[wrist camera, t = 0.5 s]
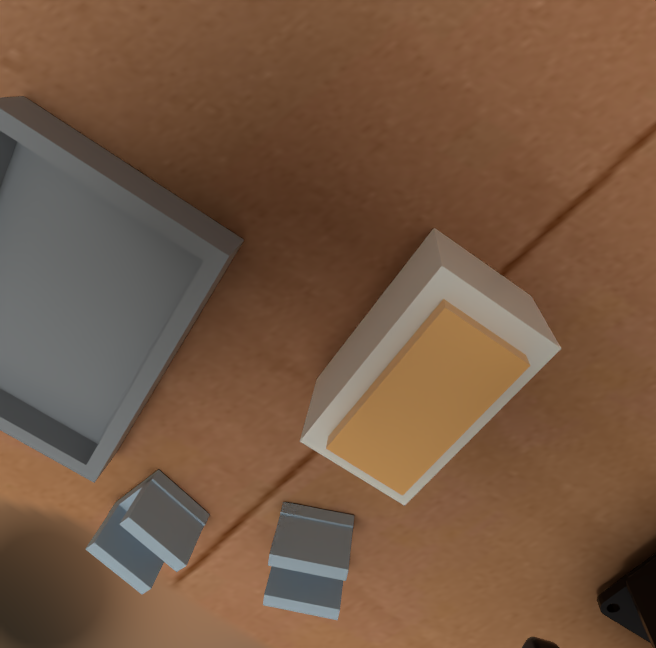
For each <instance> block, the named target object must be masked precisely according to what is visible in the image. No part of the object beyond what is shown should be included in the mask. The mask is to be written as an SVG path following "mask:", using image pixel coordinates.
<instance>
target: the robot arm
mask: <svg viewBox="0 0 656 648" xmlns="http://www.w3.org/2000/svg"><path fill="white" fill-rule="evenodd" d="M597 602H598V605H599V607H600V610H601V612H602V613H603V614H604V615H606V616H607V617H609V618H610V619H612V620H614V621H615V622H617V623H619V624H620V625H622V626H624V627H625V628H627V629H629V630H630V631H632V632H633V633H635V634H637V635H638V636H640V637H642V638H643V639H645V640H647V641H648V642H650V643H651V644H652V647H653V648H656V554H654V555H653V556H651V557H650V558H649V559H647V560H646V561H645V562H643V563H642V564H641V565H639V566H638V567H637V568H635V569H634V570H632V571H631V572H630V573H628V574H627V575H626V576H624V577H623V578H622V579H620V580H619V581H617V582H616V583H615V584H613V585H612V586H611V587H609V588H608V589H607V590H605V591H604V592H603V593H601V594H600V595H599V596H598V598H597ZM522 648H559V647H558V646H557V645H556V644H555V643H553V642H550V641H547V640H544V639H540V638H537V637H530V638H528V639H527V640H526V642H525V643H524V645H523V647H522Z"/></svg>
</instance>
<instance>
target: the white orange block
mask: <svg viewBox="0 0 656 648" xmlns="http://www.w3.org/2000/svg"><path fill="white" fill-rule="evenodd" d="M560 349H561V347H560V345H559V343H558V342H557V340H556V338H555V336H554V335H553V333H552V331H551V329H550V328H549V326H548V324H547V323H546V321H545V319H544V317H543V316H542V314H541V312H540V310H539V309H538V307H537V305H536V303H535V302H534V300H533V298H532V296H531V295H529V294H528V293H526V292H525V291H524V290H522V289H521V288H519V287H518V286H516V285H515V284H514V283H512V282H511V281H509V280H508V279H506V278H505V277H504V276H502V275H501V274H499V273H498V272H497V271H495V270H494V269H492V268H491V267H489V266H488V265H487V264H485V263H484V262H482V261H481V260H479V259H478V258H477V257H475V256H474V255H472V254H471V253H470V252H468V251H467V250H465V249H464V248H462V247H461V246H460V245H458V244H457V243H455V242H454V241H452V240H451V239H450V238H448V237H447V236H445V235H444V234H442V233H441V232H440V231H438V230H437V229H435V228H433V230H432V231H431V232H430V233H429V235H428V236H427V237H426V239H425V240H424V241H423V242H422V244H421V245H420V246H419V248H418V249H417V250H416V251H415V253H414V254H413V255H412V257H411V258H410V259H409V260H408V262H407V263H406V264H405V266H404V267H403V268H402V270H401V271H400V272H399V273H398V275H397V276H396V277H395V279H394V280H393V281H392V282H391V284H390V285H389V286H388V288H387V289H386V290H385V291H384V293H383V294H382V295H381V297H380V298H379V299H378V300H377V302H376V303H375V304H374V306H373V307H372V308H371V310H370V311H369V312H368V313H367V315H366V316H365V317H364V319H363V320H362V321H361V322H360V324H359V325H358V326H357V328H356V329H355V330H354V331H353V333H352V334H351V335H350V337H349V338H348V339H347V340H346V342H345V343H344V344H343V346H342V347H341V348H340V350H339V351H338V352H337V353H336V355H335V356H334V357H333V359H332V360H331V361H330V362H329V364H328V365H327V366H326V368H325V369H324V370H323V371H322V373H321V374H320V375H319V377H318V378H317V380H316V383H315V387H314V391H313V394H312V398H311V402H310V405H309V409H308V413H307V416H306V420H305V424H304V427H303V431H302V435H301V438H300V442H302V443H303V444H305V445H306V446H308V447H310V448H311V449H313V450H315V451H316V452H318V453H320V454H321V455H323V456H324V457H326V458H328V459H329V460H331V461H333V462H334V463H336V464H337V465H339V466H341V467H342V468H344V469H346V470H347V471H349V472H351V473H352V474H354V475H355V476H357V477H359V478H360V479H362V480H364V481H365V482H367V483H369V484H370V485H372V486H373V487H375V488H377V489H378V490H380V491H382V492H383V493H385V494H386V495H388V496H390V497H391V498H393V499H395V500H396V501H398V502H400V503H401V504H403V505H404V506H405V505H406V504H407V503H408V502H409V501H410V500H411V499H412V498H413V497H414V496H415V495H416V494H417V493H418V492H419V491H420V490H421V489H422V488H423V487H424V486H425V485H426V484H427V483H428V482H429V481H430V480H431V479H432V478H433V477H434V476H435V475H436V474H437V473H438V472H439V471H440V470H441V469H442V468H443V467H444V466H445V465H446V464H447V463H448V462H449V461H450V460H451V459H452V458H453V457H454V456H455V455H456V454H457V453H458V452H459V451H460V450H461V449H462V448H463V447H464V446H465V445H466V444H467V443H468V442H469V441H470V440H471V439H472V438H473V437H474V436H475V435H476V434H477V433H478V432H479V431H480V430H481V429H482V428H483V427H484V426H485V425H486V424H487V423H488V422H489V421H490V420H491V419H492V418H493V417H494V416H495V415H496V414H497V413H498V412H499V411H500V410H501V409H502V407H503V406H504V405H505V404H506V403H507V402H508V401H509V400H510V399H511V398H512V397H513V396H514V395H515V394H516V393H517V392H518V391H519V390H520V389H521V388H522V387H523V386H524V385H525V384H526V383H527V382H528V381H529V380H530V379H531V378H532V377H533V376H534V375H535V374H536V373H537V372H538V371H539V370H540V369H541V368H542V367H543V366H544V365H545V364H546V363H547V362H548V361H549V360H550V359H551V358H552V357H553V356H554V355H555V354H556V353H557V352H558V351H559V350H560Z"/></svg>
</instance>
